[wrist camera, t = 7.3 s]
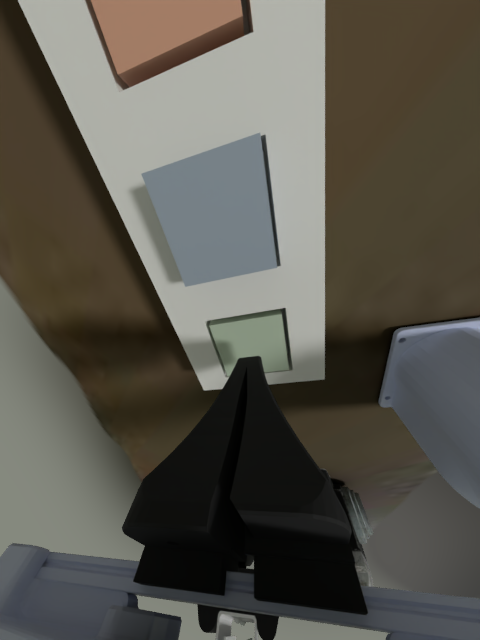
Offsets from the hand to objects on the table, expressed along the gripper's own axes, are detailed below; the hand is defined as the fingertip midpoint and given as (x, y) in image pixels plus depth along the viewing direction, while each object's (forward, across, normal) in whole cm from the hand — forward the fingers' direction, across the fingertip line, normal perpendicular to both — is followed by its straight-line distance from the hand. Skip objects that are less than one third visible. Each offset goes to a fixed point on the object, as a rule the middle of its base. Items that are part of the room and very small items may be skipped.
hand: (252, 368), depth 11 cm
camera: (+5, -7, +33) cm, 34 cm away
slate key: (+3, 0, -8) cm, 9 cm away
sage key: (+4, 0, 0) cm, 4 cm away
